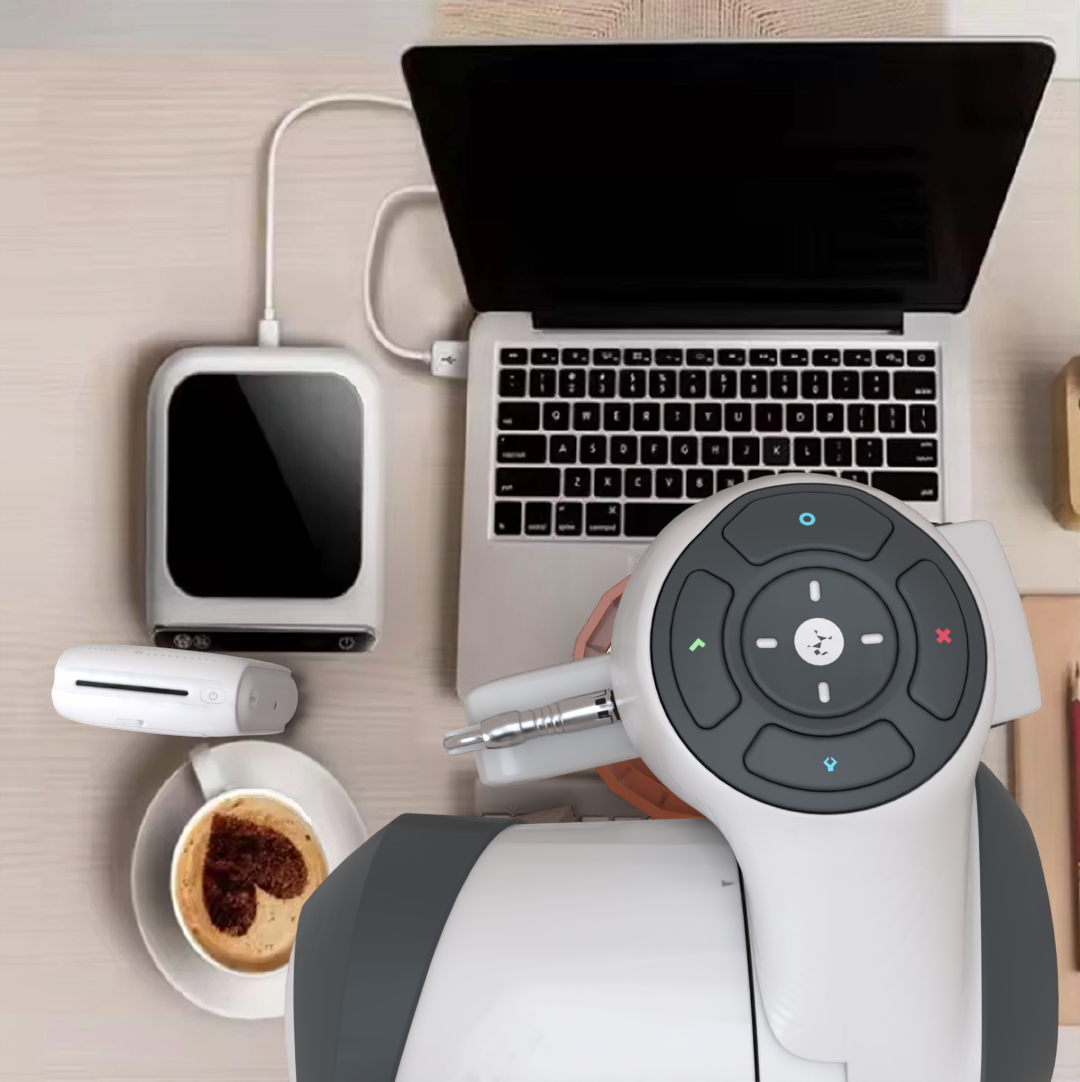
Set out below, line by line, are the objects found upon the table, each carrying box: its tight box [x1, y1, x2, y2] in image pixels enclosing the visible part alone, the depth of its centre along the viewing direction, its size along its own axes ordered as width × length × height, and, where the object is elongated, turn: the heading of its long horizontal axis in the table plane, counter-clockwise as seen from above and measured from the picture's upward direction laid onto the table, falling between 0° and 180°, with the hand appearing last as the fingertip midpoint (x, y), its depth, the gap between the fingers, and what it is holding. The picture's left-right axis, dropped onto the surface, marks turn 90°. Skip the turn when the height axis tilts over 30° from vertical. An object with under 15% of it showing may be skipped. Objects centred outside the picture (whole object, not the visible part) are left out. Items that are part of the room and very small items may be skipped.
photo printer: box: [50, 642, 299, 738], centre depth 73 cm, size 10×4×12 cm, turn 84°
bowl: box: [571, 573, 707, 820], centre depth 75 cm, size 14×14×6 cm
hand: (725, 686), depth 58 cm, fingers closed
